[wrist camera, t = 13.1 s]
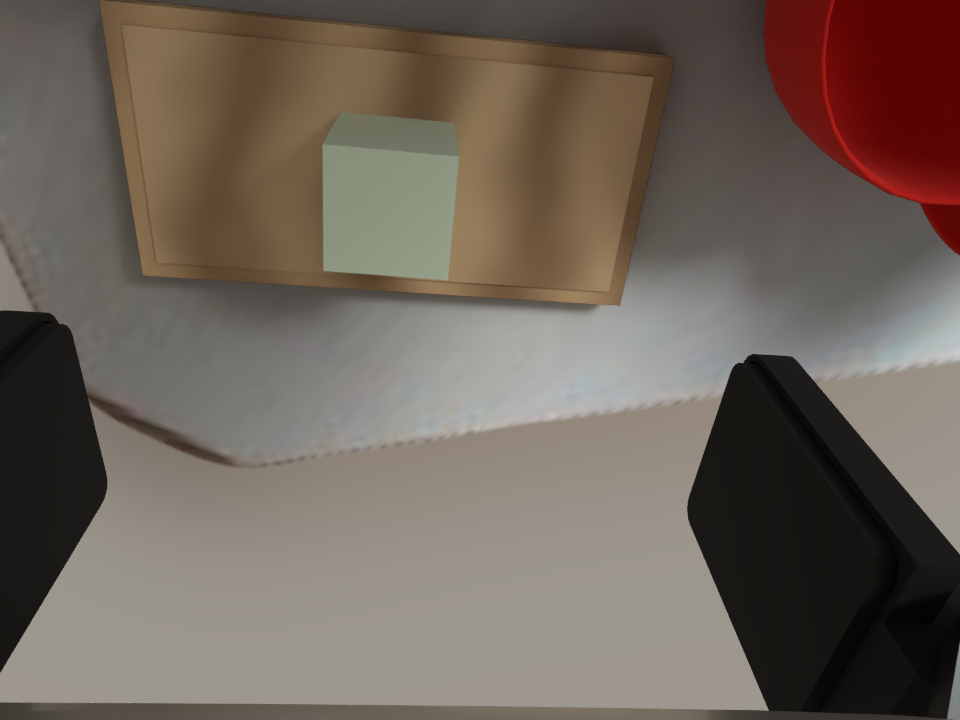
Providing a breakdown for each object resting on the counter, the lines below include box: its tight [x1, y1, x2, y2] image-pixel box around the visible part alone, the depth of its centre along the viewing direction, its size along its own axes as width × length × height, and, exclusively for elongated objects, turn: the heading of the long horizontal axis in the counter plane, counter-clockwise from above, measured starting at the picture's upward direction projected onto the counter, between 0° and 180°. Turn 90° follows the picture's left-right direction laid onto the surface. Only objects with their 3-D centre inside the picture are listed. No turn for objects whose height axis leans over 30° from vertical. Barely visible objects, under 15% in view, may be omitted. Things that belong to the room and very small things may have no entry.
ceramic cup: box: [764, 0, 960, 255], centre depth 27 cm, size 13×17×10 cm
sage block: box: [323, 112, 459, 280], centre depth 29 cm, size 5×5×6 cm
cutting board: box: [99, 0, 675, 306], centre depth 32 cm, size 24×12×2 cm, turn 84°
